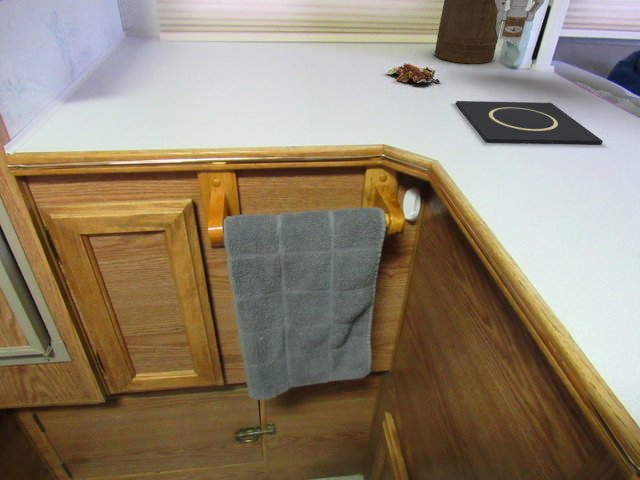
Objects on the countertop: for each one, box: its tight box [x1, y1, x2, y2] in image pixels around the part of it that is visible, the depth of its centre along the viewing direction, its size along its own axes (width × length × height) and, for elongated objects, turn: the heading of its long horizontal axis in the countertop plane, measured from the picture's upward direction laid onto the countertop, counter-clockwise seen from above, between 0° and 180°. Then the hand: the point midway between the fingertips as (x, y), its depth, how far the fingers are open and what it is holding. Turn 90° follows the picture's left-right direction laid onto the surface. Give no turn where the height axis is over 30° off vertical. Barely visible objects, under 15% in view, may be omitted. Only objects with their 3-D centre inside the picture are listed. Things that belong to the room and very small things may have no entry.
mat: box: [455, 100, 603, 145], centre depth 72 cm, size 18×18×1 cm
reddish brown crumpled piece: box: [386, 62, 441, 84], centre depth 92 cm, size 7×12×4 cm, turn 42°
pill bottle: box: [498, 0, 529, 42], centre depth 89 cm, size 4×4×8 cm
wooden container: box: [434, 0, 508, 65], centre depth 104 cm, size 15×15×22 cm
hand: (514, 20), depth 89 cm, fingers closed on pill bottle, 4 cm apart
